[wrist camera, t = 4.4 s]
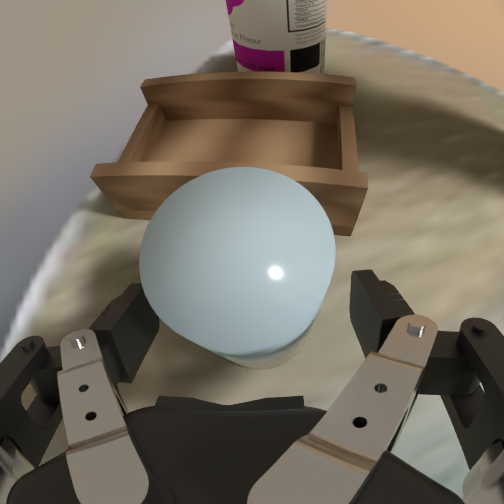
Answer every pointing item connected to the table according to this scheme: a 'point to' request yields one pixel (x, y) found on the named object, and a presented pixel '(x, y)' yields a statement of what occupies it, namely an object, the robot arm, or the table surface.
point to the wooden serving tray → (241, 139)
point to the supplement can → (278, 35)
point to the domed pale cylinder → (239, 264)
